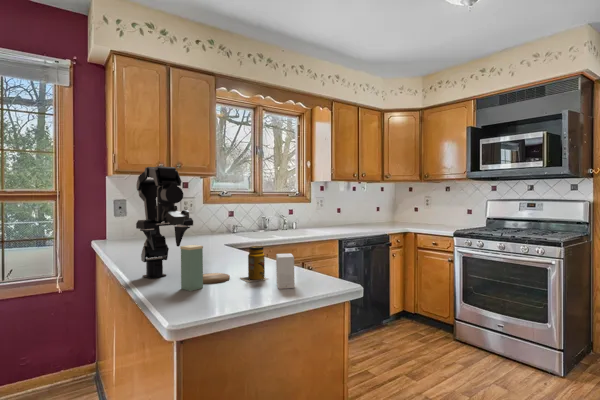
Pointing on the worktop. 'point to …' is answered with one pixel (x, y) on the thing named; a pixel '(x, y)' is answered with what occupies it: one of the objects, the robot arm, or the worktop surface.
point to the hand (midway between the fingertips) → (166, 247)
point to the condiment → (255, 264)
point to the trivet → (215, 278)
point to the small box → (285, 271)
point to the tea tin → (191, 267)
